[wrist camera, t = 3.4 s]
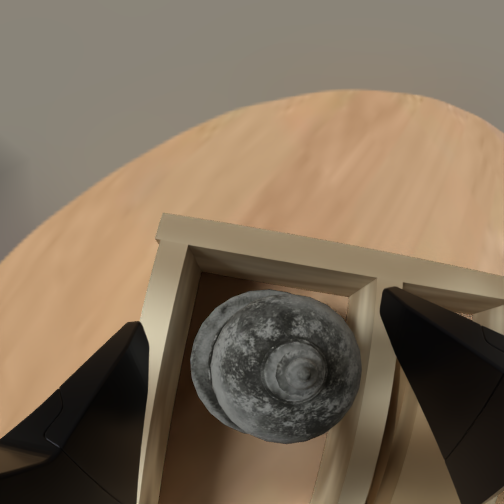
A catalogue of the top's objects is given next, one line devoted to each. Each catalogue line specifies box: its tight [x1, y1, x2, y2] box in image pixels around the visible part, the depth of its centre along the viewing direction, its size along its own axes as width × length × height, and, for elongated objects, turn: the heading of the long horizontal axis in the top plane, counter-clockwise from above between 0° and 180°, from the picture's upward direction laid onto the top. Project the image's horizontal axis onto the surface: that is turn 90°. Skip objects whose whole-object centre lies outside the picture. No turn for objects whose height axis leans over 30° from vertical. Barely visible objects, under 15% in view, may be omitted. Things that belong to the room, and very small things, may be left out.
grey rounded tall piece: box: [190, 289, 362, 444], centre depth 9 cm, size 6×6×12 cm
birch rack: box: [137, 213, 504, 504], centre depth 12 cm, size 15×19×4 cm
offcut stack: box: [365, 357, 461, 504], centre depth 12 cm, size 10×6×4 cm, turn 171°
